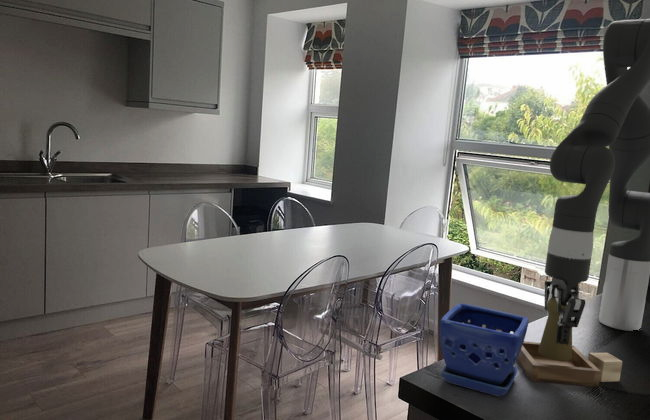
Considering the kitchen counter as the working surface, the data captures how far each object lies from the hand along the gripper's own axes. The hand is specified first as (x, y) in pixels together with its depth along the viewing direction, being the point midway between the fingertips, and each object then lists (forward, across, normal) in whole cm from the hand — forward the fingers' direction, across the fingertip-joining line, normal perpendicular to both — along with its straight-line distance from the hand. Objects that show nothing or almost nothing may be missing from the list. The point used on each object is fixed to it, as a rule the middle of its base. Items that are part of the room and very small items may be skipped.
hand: (556, 340), depth 103 cm
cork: (+3, 0, 0) cm, 3 cm away
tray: (+6, 0, 0) cm, 6 cm away
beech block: (+6, -1, -9) cm, 11 cm away
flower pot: (+6, -8, +16) cm, 19 cm away
